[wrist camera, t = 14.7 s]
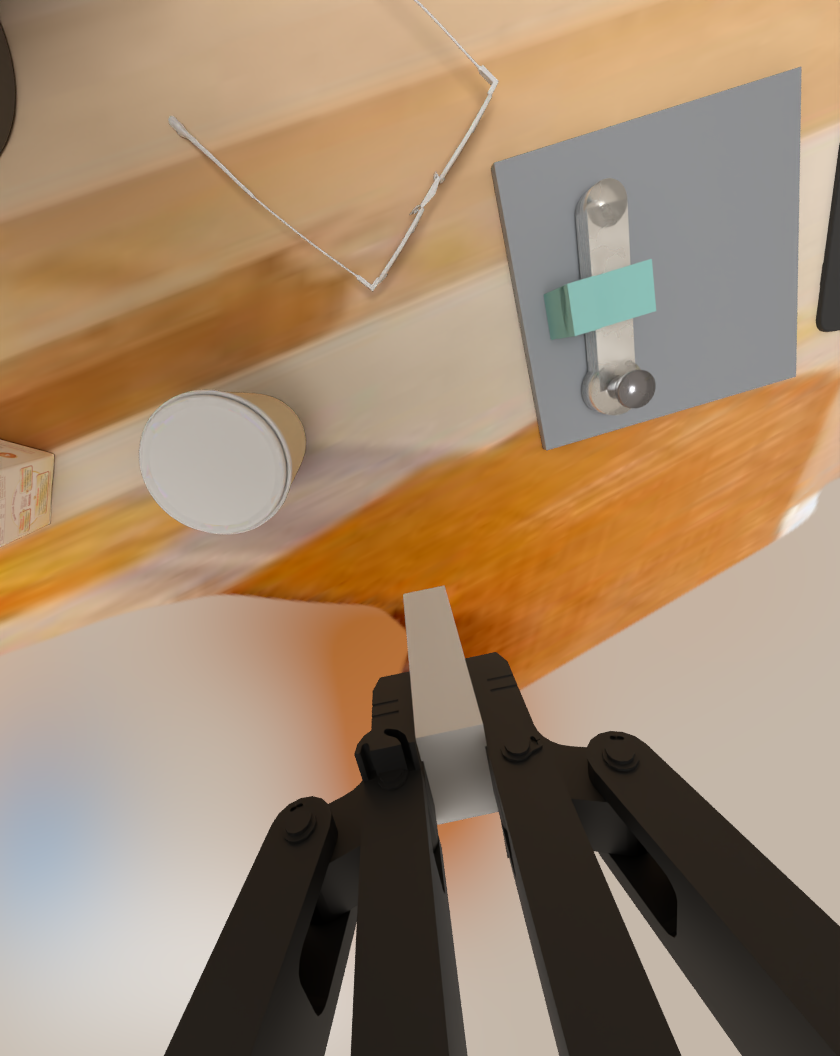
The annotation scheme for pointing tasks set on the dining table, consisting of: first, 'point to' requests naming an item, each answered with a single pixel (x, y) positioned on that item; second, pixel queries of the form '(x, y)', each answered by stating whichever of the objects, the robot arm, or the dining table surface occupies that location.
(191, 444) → the coffee cup
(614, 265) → the link
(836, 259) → the phone
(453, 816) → the robot arm
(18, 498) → the coffeecake box
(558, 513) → the dining table surface
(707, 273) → the board
